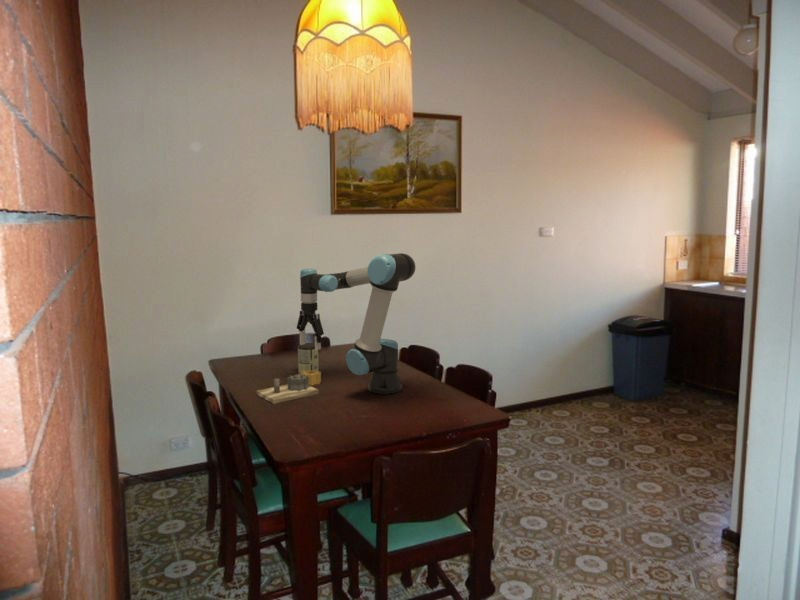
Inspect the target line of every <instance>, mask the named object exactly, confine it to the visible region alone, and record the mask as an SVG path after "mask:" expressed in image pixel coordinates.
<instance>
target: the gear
mask: <svg viewBox="0 0 800 600" xmlns="http://www.w3.org/2000/svg"><path fill="white" fill-rule="evenodd" d="M301 375H305V376H309V386H311V387H313V386H314V385H320V383H322V372H321V371H319V372H318V370H309V371H302V373H301Z"/></svg>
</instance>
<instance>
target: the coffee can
mask: <svg viewBox="0 0 800 600" xmlns="http://www.w3.org/2000/svg"><path fill="white" fill-rule="evenodd" d="M297 361H298V362H297V363H298V365H297V366H298V374H300V375H301V373H302V371H309V370H318V372H319V369H320V368H319V367H320V366H319V365H320V364H319V363H320V362H319V349H318V350H315V342H306V344H303V345H300V343H299V344H298V345H297Z"/></svg>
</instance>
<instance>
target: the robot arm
mask: <svg viewBox="0 0 800 600" xmlns="http://www.w3.org/2000/svg"><path fill="white" fill-rule="evenodd" d="M415 272H416V263H415V260H414V259H413V258H412V256H411V255H409V254H407V253H401V252H400V253H391V254H390V253H385V254H380V255H377V256H375V257H373V258H372V259H371V260H370V262H369V264H368V266H365V267H362V268H361V267H360V268H355V269H353V270H348V271H343V272H337V273H336V272H334V273H326V274H323V273H322V274H320V273H317V269H315V268H302V269H301V270H300V277H299V278H300V281H299V282H300V302H301V304H300V307H301V309H300V310H299V317H298V320H297V324H296V329H297V330H298V331H299V344H300V345H303V344H306V343H307V342H306V339H307V338H306V327H307V325H308V323H309V324H310V325H311V326H312V329H313V332H314V333H315V334H314V343H315V350H318V351H319V350H321V349H322V343H321V342H322V336H323V335H324V334H325V333H324V329H323V326H322V321H321V317H320V316H321V315H320V313H316V311H318V291H319V292H325V293H329V292H330V293H331V292H334V291H336V290H343V289H350V288H353V287H357V286H363V285H367V284H370V286H371V293H370V297H369V300H368V304H367V309H366V312H365V316H364V321H363V324H362V329H361V333H360V336H359V338H357V339H355V342H354V346H353V348H351V349H350V350H348V351H347V352H346V355H345V362H346V365H347V366H348V369H349V371H350V372H351V373H353V375H357V376H363V375H364V376H365V375H367V374H369V373H371V376H370V379H369V382H368V391H369V392H371V393H373V394H377V393H378V395H391V394H390V393H393V394H397V393H400V392H401V391H402V390H403V385H402V380H401V378H400V374H399V343H398V341H396V340H393V339H389V338H382V334H383V332H384V327H385V323H386V319H387V316H388V311H389V307H390V304H391V300H392V296H393V293H395V292H397V291H398V289H399V284H400V283H401V282H404V281H408V280H410V279H411V278H412V277H413V276H414V274H415ZM401 389H402V390H401ZM399 391H400V392H399ZM396 392H397V393H396Z"/></svg>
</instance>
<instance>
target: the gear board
mask: <svg viewBox="0 0 800 600" xmlns="http://www.w3.org/2000/svg"><path fill="white" fill-rule="evenodd" d="M286 379H287V380H286V381H287V384H282V385H280V384H281V383H280V378H274V379H273V386H272V387H267V388H262V389H258V390H256V395H257V396H258V397H261V398H262V399H264V400H266V401H268V402H270V403H272V404H273V405H275V404H278V403H283V402H288V401H292V400H296V399H297V400H298V399H301V398H306V397H312V396H315V395H319V394H320V391H319V388H316V387H313V386H311V385H309V376H305V375H300V374H299V373H298V374H297V373H296V374H294V375H288V377H287V378H286Z"/></svg>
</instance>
